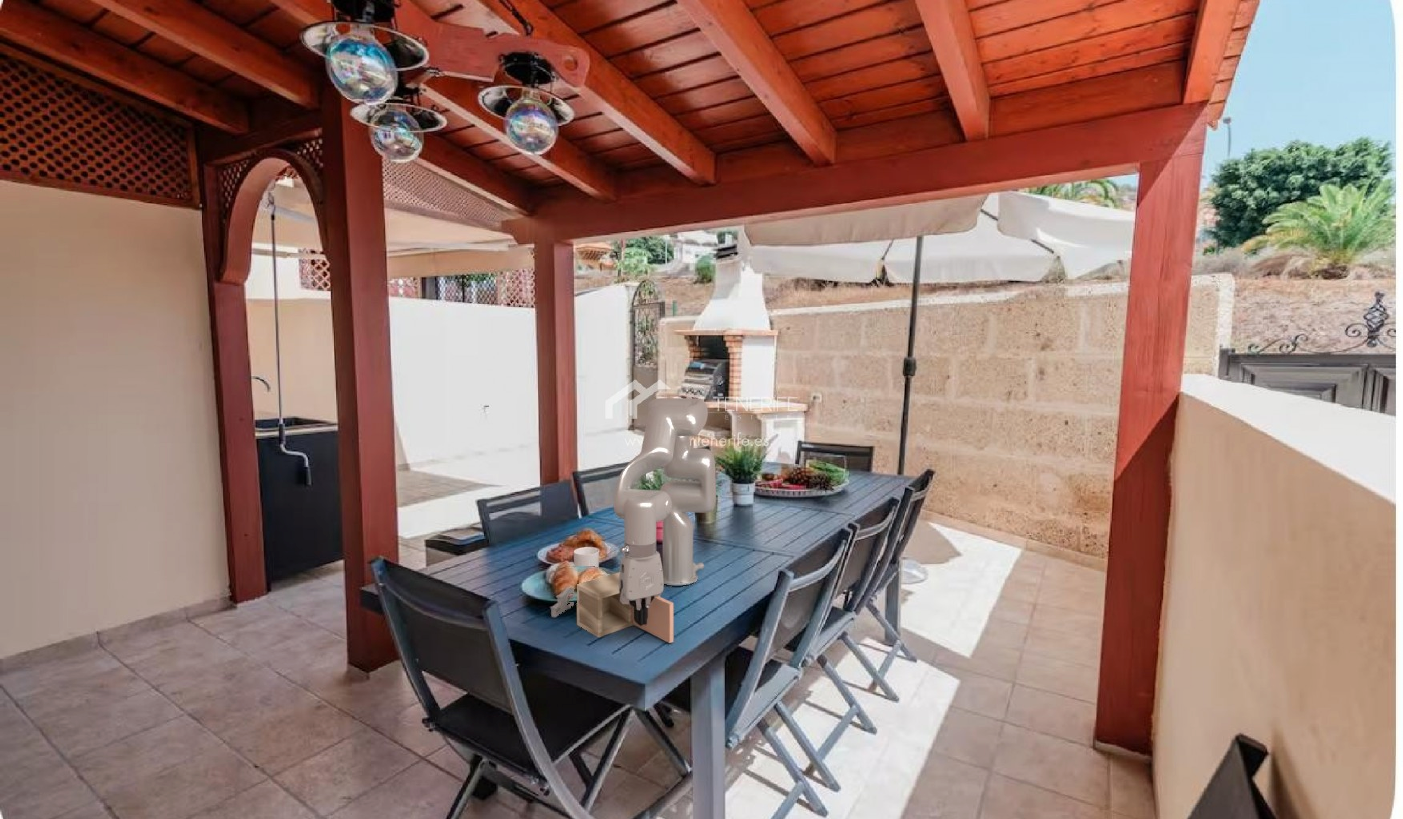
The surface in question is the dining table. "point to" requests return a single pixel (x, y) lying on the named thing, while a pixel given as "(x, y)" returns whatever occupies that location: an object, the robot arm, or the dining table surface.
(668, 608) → the door
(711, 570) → the dining table surface
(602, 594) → the wooden cabinet
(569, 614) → the dining table surface
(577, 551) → the white cup
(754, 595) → the dining table surface
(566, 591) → the garden wall model
